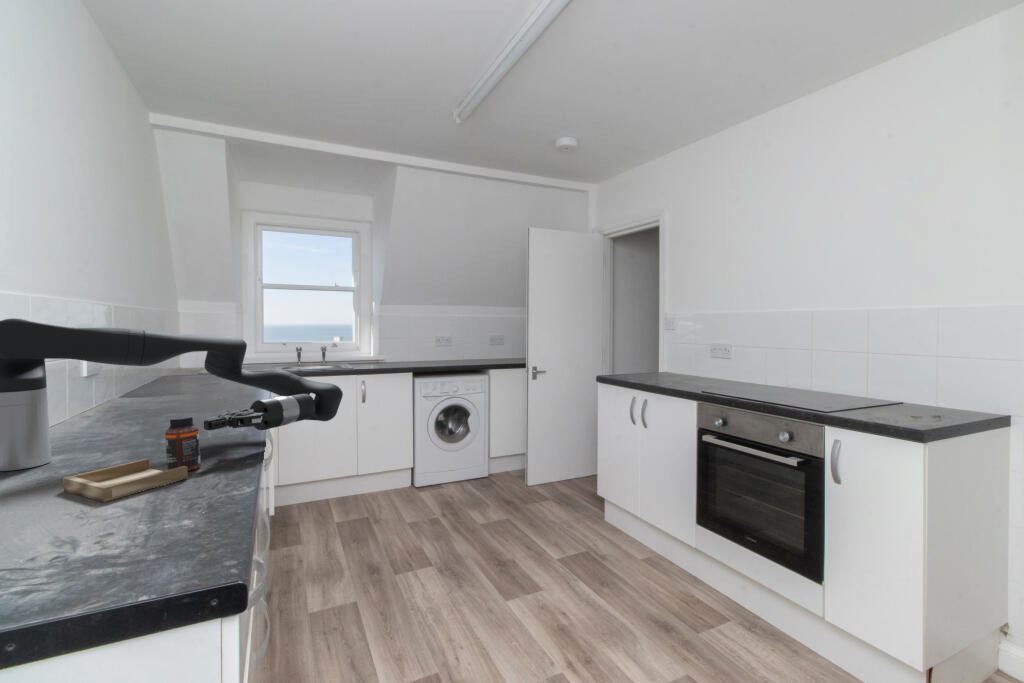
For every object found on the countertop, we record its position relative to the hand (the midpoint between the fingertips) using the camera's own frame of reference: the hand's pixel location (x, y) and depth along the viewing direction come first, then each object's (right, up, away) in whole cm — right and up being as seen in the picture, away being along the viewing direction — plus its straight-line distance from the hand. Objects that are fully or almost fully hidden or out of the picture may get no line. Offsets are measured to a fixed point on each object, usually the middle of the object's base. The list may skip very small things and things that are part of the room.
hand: (205, 425), depth 109 cm
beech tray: (-7, -9, -13) cm, 18 cm away
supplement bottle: (-2, -9, -4) cm, 10 cm away
